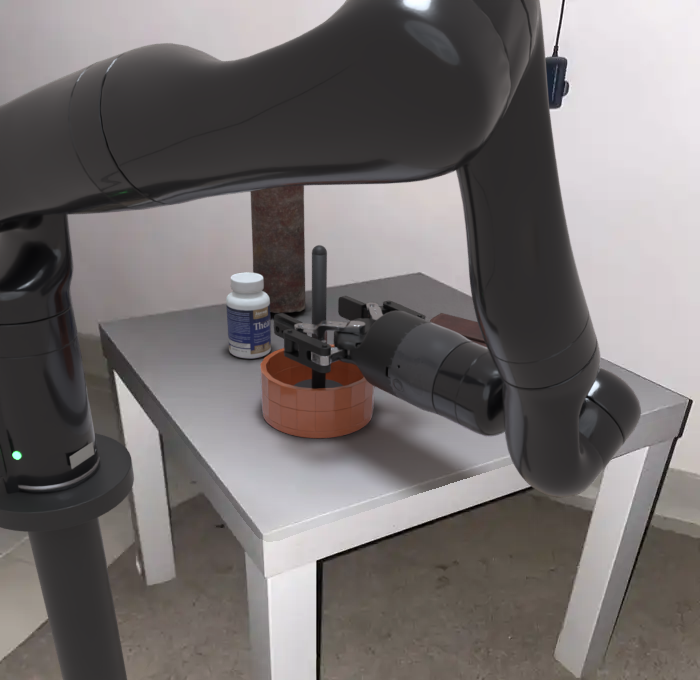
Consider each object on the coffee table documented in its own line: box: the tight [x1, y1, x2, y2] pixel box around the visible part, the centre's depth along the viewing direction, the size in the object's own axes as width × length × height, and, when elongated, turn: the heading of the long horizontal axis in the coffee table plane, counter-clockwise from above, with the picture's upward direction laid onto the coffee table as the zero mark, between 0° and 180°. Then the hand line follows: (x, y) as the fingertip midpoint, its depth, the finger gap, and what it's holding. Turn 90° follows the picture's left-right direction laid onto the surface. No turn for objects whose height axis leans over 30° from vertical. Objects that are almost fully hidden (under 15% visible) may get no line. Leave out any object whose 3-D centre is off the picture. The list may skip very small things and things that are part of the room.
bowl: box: [259, 343, 375, 439], centre depth 84 cm, size 12×12×6 cm
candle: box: [249, 186, 306, 314], centre depth 106 cm, size 8×7×20 cm
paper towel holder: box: [294, 244, 343, 389], centre depth 80 cm, size 6×6×18 cm
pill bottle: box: [225, 271, 272, 360], centre depth 96 cm, size 5×5×10 cm
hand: (309, 313), depth 81 cm, fingers open, 8 cm apart
